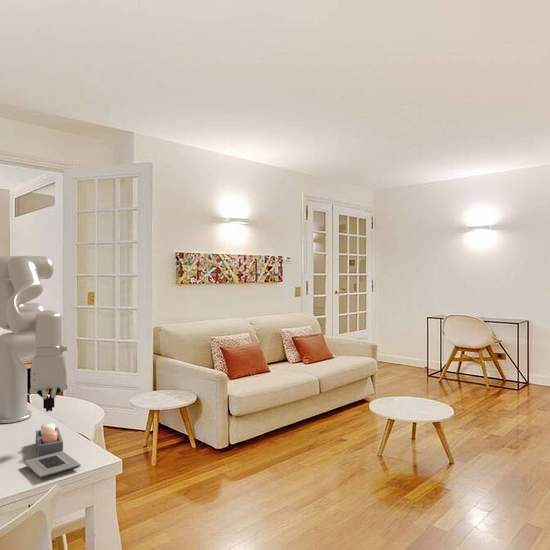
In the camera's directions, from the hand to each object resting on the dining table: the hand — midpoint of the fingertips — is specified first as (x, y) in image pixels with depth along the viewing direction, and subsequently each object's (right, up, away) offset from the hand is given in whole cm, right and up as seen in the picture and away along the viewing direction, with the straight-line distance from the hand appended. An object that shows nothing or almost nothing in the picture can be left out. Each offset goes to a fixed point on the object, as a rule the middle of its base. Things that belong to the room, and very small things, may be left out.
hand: (48, 410), depth 143 cm
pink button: (+3, -9, -5) cm, 11 cm away
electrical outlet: (+9, -12, -16) cm, 22 cm away
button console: (+1, -11, -2) cm, 12 cm away
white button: (-1, -9, +1) cm, 9 cm away
